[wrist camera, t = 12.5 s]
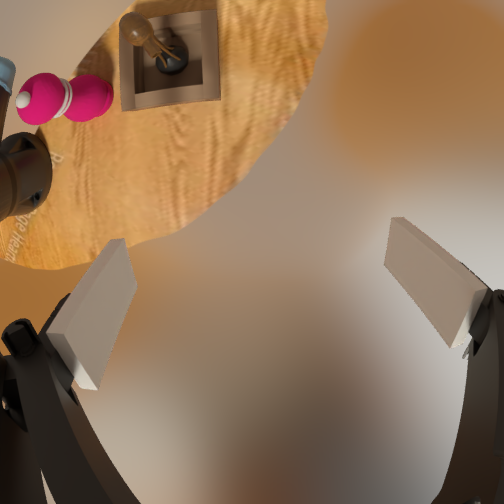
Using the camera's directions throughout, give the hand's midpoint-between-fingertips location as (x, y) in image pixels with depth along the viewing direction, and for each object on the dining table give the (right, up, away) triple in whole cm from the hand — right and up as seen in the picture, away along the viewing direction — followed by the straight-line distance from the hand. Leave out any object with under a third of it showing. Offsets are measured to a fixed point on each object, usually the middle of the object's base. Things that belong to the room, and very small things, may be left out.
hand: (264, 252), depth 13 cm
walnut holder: (-12, +27, +21) cm, 36 cm away
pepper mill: (-25, +24, +21) cm, 41 cm away
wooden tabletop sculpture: (-12, +27, +20) cm, 35 cm away
